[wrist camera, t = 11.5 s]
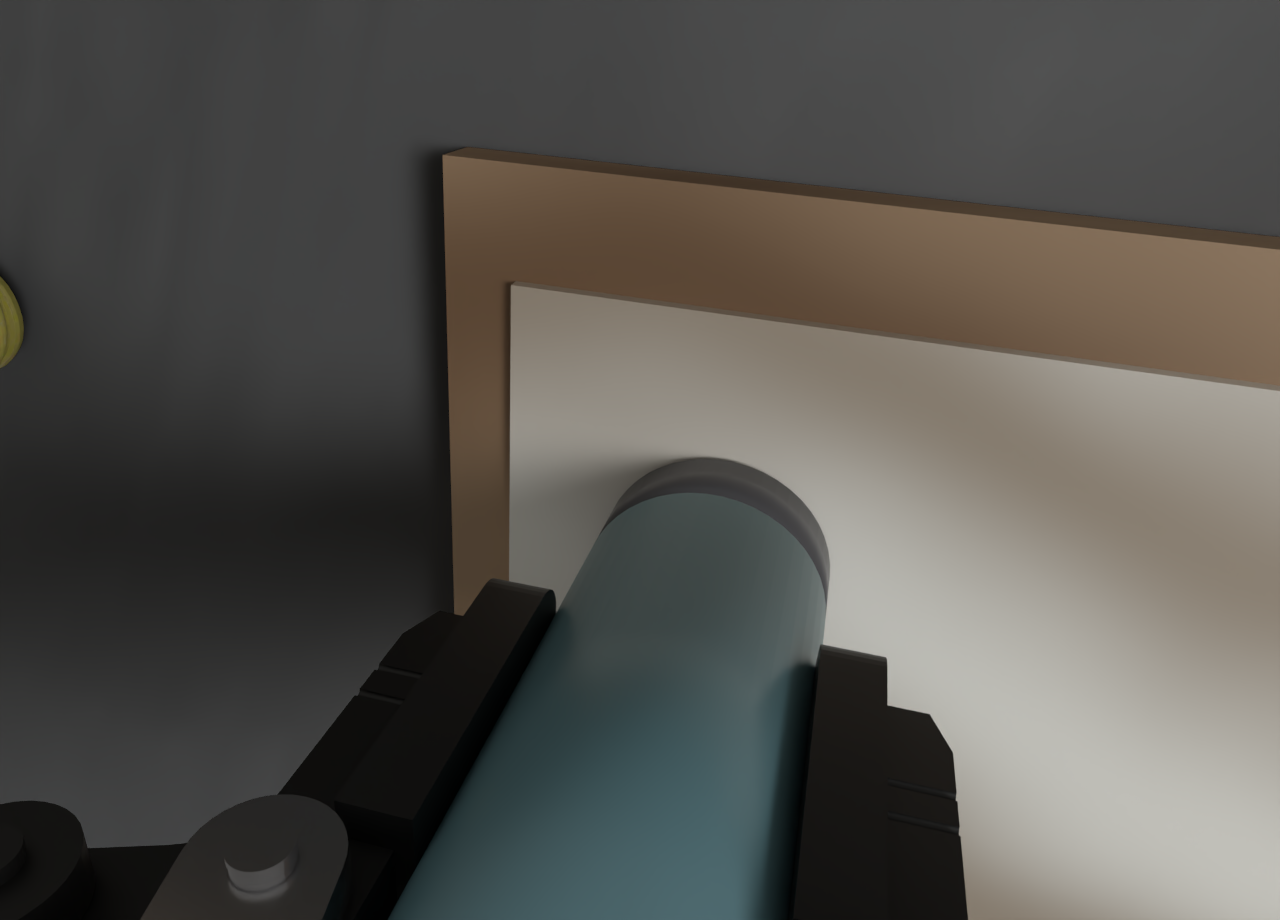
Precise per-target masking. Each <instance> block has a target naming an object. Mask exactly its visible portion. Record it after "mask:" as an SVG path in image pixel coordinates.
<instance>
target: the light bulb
mask: <svg viewBox="0 0 1280 920" xmlns="http://www.w3.org/2000/svg"><path fill="white" fill-rule="evenodd" d="M23 334H24V326H23V318H22V314H21V311H20V308H19V305H18V303H17V300H16V298H15V296H14V294H13V293H12V291H11V289H10V288H9V286H8V285H7V284H6V282H5V281H4V280H3V279H2V278H1V277H0V368H2V367H4V366H5V365H7V364H8V363H9V362H10V361H11V360H12V359H13V358H14V356H15V355H16V354H17V352H18V350H19V349H20V347H21V344H22V341H23Z"/></svg>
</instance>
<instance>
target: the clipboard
mask: <svg viewBox="0 0 1280 920" xmlns="http://www.w3.org/2000/svg"><path fill="white" fill-rule="evenodd" d="M443 191H444V230H445V269H446V308H447V347H448V386H449V425H450V464H451V503H452V542H453V581H454V614H456V615H461V616H463V615H464V614H465V613H466V611H467V610H468V608H469V607H470V605H471V604H472V603H473V601H474V600H475V598H476V597H477V595H478V594H479V593H480V591H481V590H482V588H483V587H484V585H485V584H486V583H487V582H488V581H489V580H490V579H492V578H496V579H501V580H506V581H511V582H516V583H521V584H526V585H531V586H536V587H541V588H546V589H551V590H553V591H554V593H555V597H556V612H557V611H558V609H559V607H560V605H561V603H562V601H563V600H564V598H565V596H566V594H567V592H568V591H569V589H570V587H571V585H572V583H573V581H574V580H575V578H576V576H577V574H578V572H579V571H580V569H581V567H582V565H583V563H584V561H585V560H586V558H587V556H588V554H589V552H590V551H591V549H592V547H593V545H594V543H595V541H596V540H597V538H598V536H599V534H600V532H601V531H602V529H603V527H604V525H605V523H606V521H607V520H608V518H609V516H610V514H611V512H612V511H613V509H614V507H615V505H616V504H617V502H618V500H619V499H620V498H621V496H622V495H623V494H624V493H625V491H626V490H627V489H628V488H630V487H631V486H632V485H633V484H634V483H635V482H636V481H637V480H639V479H640V478H642V477H643V476H645V475H646V474H648V473H650V472H652V471H654V470H656V469H658V468H660V467H663V466H666V465H669V464H672V463H675V462H680V461H685V460H694V459H719V460H725V461H731V462H736V463H739V464H743V465H746V466H750V467H752V468H754V469H757V470H759V471H761V472H764V473H766V474H767V475H769V476H771V477H773V478H775V479H776V480H778V481H779V482H781V483H782V484H783V485H785V486H786V487H788V488H789V489H790V490H791V491H792V492H794V493H795V494H796V495H797V496H798V497H799V498H800V499H801V500H802V501H803V502H804V504H805V505H806V506H807V507H808V509H809V510H810V511H811V512H812V514H813V516H814V517H815V519H816V520H817V522H818V524H819V526H820V528H821V530H822V532H823V535H824V537H825V540H826V544H827V547H828V551H829V559H830V579H829V589H828V599H827V609H826V619H825V629H824V639H823V645H828V646H833V647H838V648H843V649H848V650H853V651H858V652H863V653H868V654H873V655H878V656H883V657H886V658H887V705H888V706H893V707H898V708H903V709H907V710H912V711H917V712H922V713H927V714H930V715H931V717H932V719H933V720H934V722H935V724H936V725H937V727H938V729H939V730H940V732H941V734H942V735H943V737H944V739H945V740H946V742H947V744H948V745H949V747H950V749H951V750H952V752H953V758H954V769H955V780H956V791H957V794H956V801H957V802H958V813H959V824H960V828H959V836H961V846H962V857H963V868H964V880H965V891H966V902H967V913H968V920H1280V237H1274V236H1265V235H1256V234H1247V233H1238V232H1229V231H1220V230H1211V229H1202V228H1193V227H1184V226H1175V225H1166V224H1157V223H1148V222H1139V221H1130V220H1121V219H1112V218H1103V217H1094V216H1085V215H1076V214H1067V213H1058V212H1049V211H1040V210H1031V209H1022V208H1013V207H1004V206H995V205H986V204H977V203H968V202H959V201H950V200H941V199H932V198H923V197H914V196H905V195H896V194H887V193H878V192H869V191H860V190H851V189H842V188H833V187H824V186H815V185H806V184H797V183H788V182H779V181H770V180H761V179H752V178H743V177H734V176H725V175H716V174H707V173H698V172H689V171H680V170H671V169H662V168H653V167H644V166H635V165H626V164H617V163H608V162H599V161H590V160H581V159H572V158H563V157H554V156H545V155H536V154H527V153H518V152H509V151H500V150H491V149H482V148H473V147H466V148H463V149H460V150H456V151H453V152H450V153H447V154H444V155H443Z"/></svg>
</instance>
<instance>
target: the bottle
mask: <svg viewBox="0 0 1280 920" xmlns="http://www.w3.org/2000/svg"><path fill="white" fill-rule="evenodd" d="M829 579H830V559H829V551H828V547H827V544H826V540H825V537H824V535H823V532H822V530H821V528H820V526H819V524H818V522H817V520H816V519H815V517H814V516H813V514H812V512H811V511H810V510H809V509H808V507H807V506H806V505H805V504H804V502H803V501H802V500H801V499H800V498H799V497H798V496H797V495H796V494H795V493H794V492H792V491H791V490H790V489H789V488H788V487H786V486H785V485H783V484H782V483H781V482H779V481H778V480H776V479H775V478H773V477H771V476H769V475H767V474H766V473H764V472H761V471H759V470H757V469H754V468H752V467H750V466H746V465H743V464H739V463H736V462H731V461H725V460H719V459H694V460H685V461H680V462H675V463H672V464H669V465H666V466H663V467H660V468H658V469H656V470H654V471H652V472H650V473H648V474H646V475H645V476H643V477H642V478H640V479H639V480H637V481H636V482H635V483H634V484H633V485H632V486H631V487H630V488H628V489H627V490H626V491H625V493H624V494H623V495H622V496H621V498H620V499H619V500H618V502H617V504H616V505H615V507H614V509H613V511H612V512H611V514H610V516H609V518H608V520H607V521H606V523H605V525H604V527H603V529H602V531H601V532H600V534H599V536H598V538H597V540H596V541H595V543H594V545H593V547H592V549H591V551H590V552H589V554H588V556H587V558H586V560H585V561H584V563H583V565H582V567H581V569H580V571H579V572H578V574H577V576H576V578H575V580H574V581H573V583H572V585H571V587H570V589H569V591H568V592H567V594H566V596H565V598H564V600H563V601H562V603H561V605H560V607H559V609H558V611H557V612H556V614H555V616H554V618H553V620H552V621H551V623H550V625H549V627H548V629H547V631H546V632H545V634H544V636H543V638H542V640H541V642H540V643H539V645H538V647H537V649H536V651H535V652H534V654H533V656H532V658H531V660H530V662H529V663H528V665H527V667H526V669H525V671H524V672H523V674H522V676H521V678H520V680H519V682H518V683H517V685H516V687H515V689H514V691H513V692H512V694H511V696H510V698H509V700H508V702H507V703H506V705H505V707H504V709H503V711H502V712H501V714H500V716H499V718H498V720H497V722H496V723H495V725H494V727H493V729H492V731H491V732H490V734H489V736H488V738H487V740H486V742H485V743H484V745H483V747H482V749H481V751H480V752H479V754H478V756H477V758H476V760H475V762H474V763H473V765H472V767H471V769H470V771H469V772H468V774H467V776H466V778H465V780H464V782H463V783H462V785H461V787H460V789H459V791H458V792H457V794H456V796H455V798H454V800H453V802H452V803H451V805H450V807H449V809H448V811H447V812H446V814H445V816H444V818H443V820H442V822H441V823H440V825H439V827H438V829H437V831H436V832H435V834H434V836H433V838H432V840H431V842H430V843H429V845H428V847H427V849H426V851H425V852H424V854H423V856H422V858H421V860H420V862H419V863H418V865H417V867H416V869H415V871H414V872H413V874H412V876H411V878H410V880H409V881H408V883H407V885H406V887H405V889H404V891H403V892H402V894H401V896H400V898H399V900H398V901H397V903H396V905H395V907H394V909H393V911H392V912H391V914H390V916H389V918H388V920H788V914H789V905H790V896H791V886H792V877H793V868H794V859H795V850H796V840H797V831H798V822H799V813H800V803H801V794H802V785H803V776H804V766H805V757H806V748H807V739H808V730H809V720H810V711H811V702H812V693H813V683H814V674H815V666H816V660H817V656H818V651H819V647H820V644H823V639H824V629H825V619H826V609H827V599H828V589H829Z"/></svg>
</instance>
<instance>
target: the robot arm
mask: <svg viewBox="0 0 1280 920" xmlns="http://www.w3.org/2000/svg"><path fill="white" fill-rule="evenodd" d="M555 614H556V597H555V593H554V591H553V590H551V589H546V588H541V587H536V586H531V585H526V584H521V583H516V582H511V581H506V580H501V579H496V578H492V579H490V580H489V581H488V582H487V583H486V584H485V585H484V587H483V588H482V590H481V591H480V593H479V594H478V595H477V597H476V598H475V600H474V601H473V603H472V604H471V605H470V607H469V608H468V610H467V611H466V613H465V614H464V615H463V616H461V615H456V614H452V613H447V612H442V611H439V612H437V613H436V614H434V615H432V616H431V617H429V618H427V619H426V620H424V621H423V622H421V623H419V624H418V625H416V626H414V627H413V628H411V629H409V630H408V631H406V632H405V633H403V634H402V635H401V637H400V638H399V639H398V641H397V642H396V643H395V644H394V646H393V647H392V648H391V650H390V651H389V652H388V653H387V655H386V656H385V657H384V659H383V660H382V661H381V662H380V664H379V669H378V670H374V671H373V673H372V674H371V675H370V677H369V678H368V679H367V680H366V682H365V683H364V684H363V686H362V687H361V688H360V692H359V695H358V696H354V697H353V698H352V700H351V701H350V702H349V704H348V705H347V706H346V707H345V709H344V710H343V711H342V713H341V714H340V715H339V716H338V718H337V719H336V720H335V722H334V723H333V724H332V725H331V727H330V728H329V729H328V731H327V732H326V733H325V734H324V736H323V737H322V738H321V740H320V741H319V742H318V743H317V745H316V746H315V747H314V749H313V750H312V751H311V752H310V754H309V755H308V756H307V758H306V759H305V760H304V761H303V763H302V764H301V765H300V767H299V768H298V769H297V770H296V772H295V773H294V774H293V776H292V777H291V778H290V780H289V781H288V782H287V783H286V785H285V786H284V787H283V789H282V790H281V791H280V792H279V793H278V794H277V795H270V796H264V797H259V798H255V799H251V800H248V801H245V802H243V803H240V804H237V805H235V806H233V807H231V808H229V809H227V810H225V811H223V812H221V813H220V814H218V815H217V816H215V817H214V818H212V819H211V820H209V821H208V822H207V823H206V824H204V825H203V826H202V827H201V828H200V829H199V830H198V831H197V832H196V833H195V834H194V835H193V836H192V837H191V838H190V839H189V841H188V842H187V843H184V844H174V845H159V846H135V847H111V848H87V844H86V841H85V837H84V833H83V830H82V827H81V824H80V822H79V821H78V819H77V818H76V817H75V815H73V814H72V813H71V812H70V811H68V810H67V809H65V808H63V807H61V806H59V805H56V804H52V803H48V802H40V801H19V802H11V803H5V804H0V920H388V918H389V916H390V914H391V912H392V911H393V909H394V907H395V905H396V903H397V901H398V900H399V898H400V896H401V894H402V892H403V891H404V889H405V887H406V885H407V883H408V881H409V880H410V878H411V876H412V874H413V872H414V871H415V869H416V867H417V865H418V863H419V862H420V860H421V858H422V856H423V854H424V852H425V851H426V849H427V847H428V845H429V843H430V842H431V840H432V838H433V836H434V834H435V832H436V831H437V829H438V827H439V825H440V823H441V822H442V820H443V818H444V816H445V814H446V812H447V811H448V809H449V807H450V805H451V803H452V802H453V800H454V798H455V796H456V794H457V792H458V791H459V789H460V787H461V785H462V783H463V782H464V780H465V778H466V776H467V774H468V772H469V771H470V769H471V767H472V765H473V763H474V762H475V760H476V758H477V756H478V754H479V752H480V751H481V749H482V747H483V745H484V743H485V742H486V740H487V738H488V736H489V734H490V732H491V731H492V729H493V727H494V725H495V723H496V722H497V720H498V718H499V716H500V714H501V712H502V711H503V709H504V707H505V705H506V703H507V702H508V700H509V698H510V696H511V694H512V692H513V691H514V689H515V687H516V685H517V683H518V682H519V680H520V678H521V676H522V674H523V672H524V671H525V669H526V667H527V665H528V663H529V662H530V660H531V658H532V656H533V654H534V652H535V651H536V649H537V647H538V645H539V643H540V642H541V640H542V638H543V636H544V634H545V632H546V631H547V629H548V627H549V625H550V623H551V621H552V620H553V618H554V616H555ZM956 794H957V791H956V780H955V769H954V758H953V752H952V750H951V749H950V747H949V745H948V744H947V742H946V740H945V739H944V737H943V735H942V734H941V732H940V730H939V729H938V727H937V725H936V724H935V722H934V720H933V719H932V717H931V715H930V714H927V713H922V712H917V711H912V710H907V709H903V708H898V707H893V706H888V705H887V658H886V657H883V656H878V655H873V654H868V653H863V652H858V651H853V650H848V649H843V648H838V647H833V646H828V645H823V644H820V647H819V651H818V656H817V660H816V666H815V674H814V683H813V693H812V702H811V711H810V720H809V730H808V739H807V748H806V757H805V766H804V776H803V785H802V794H801V803H800V813H799V822H798V831H797V840H796V850H795V859H794V868H793V877H792V886H791V896H790V905H789V914H788V920H968V913H967V902H966V891H965V880H964V868H963V857H962V846H961V836H959V828H960V824H959V813H958V802H957V801H956Z"/></svg>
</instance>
